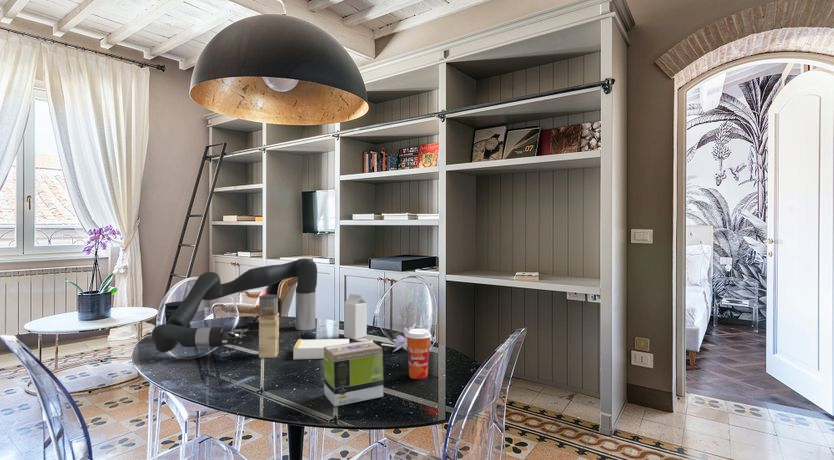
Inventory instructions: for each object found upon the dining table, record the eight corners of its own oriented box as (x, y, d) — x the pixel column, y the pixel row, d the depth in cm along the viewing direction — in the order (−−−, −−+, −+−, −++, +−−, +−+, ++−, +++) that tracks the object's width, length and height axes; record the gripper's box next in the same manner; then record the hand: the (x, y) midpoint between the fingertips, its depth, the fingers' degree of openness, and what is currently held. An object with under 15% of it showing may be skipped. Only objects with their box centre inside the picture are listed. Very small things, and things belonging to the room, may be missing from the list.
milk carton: (355, 340, 190) (355, 296, 190) (343, 337, 195) (344, 294, 194) (366, 336, 196) (366, 294, 196) (355, 334, 200) (355, 292, 200)
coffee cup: (403, 379, 143) (404, 333, 143) (407, 371, 151) (408, 327, 151) (429, 381, 142) (430, 334, 141) (432, 372, 150) (432, 328, 150)
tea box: (370, 386, 137) (370, 339, 137) (383, 398, 128) (384, 347, 128) (323, 395, 130) (323, 345, 130) (333, 407, 121) (333, 354, 121)
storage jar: (162, 337, 193) (162, 302, 193) (186, 333, 199) (186, 300, 199) (168, 341, 185) (167, 306, 185) (193, 337, 192) (193, 303, 192)
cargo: (264, 317, 169) (264, 307, 169) (275, 317, 170) (275, 307, 170) (262, 319, 165) (262, 309, 165) (273, 319, 166) (273, 309, 166)
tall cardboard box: (262, 353, 171) (262, 313, 170) (278, 352, 171) (278, 312, 171) (259, 357, 165) (259, 316, 164) (275, 357, 165) (275, 316, 165)
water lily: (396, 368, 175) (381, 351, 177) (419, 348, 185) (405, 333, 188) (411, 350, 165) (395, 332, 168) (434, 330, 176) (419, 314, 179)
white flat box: (298, 349, 175) (298, 339, 175) (349, 348, 177) (349, 338, 177) (293, 359, 163) (293, 347, 163) (348, 357, 165) (348, 346, 165)
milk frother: (275, 328, 209) (275, 297, 209) (241, 328, 209) (241, 297, 208) (283, 322, 223) (283, 292, 223) (251, 322, 223) (252, 292, 223)
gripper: (204, 331, 158) (251, 330, 160) (217, 322, 172) (260, 321, 174) (204, 352, 158) (251, 351, 160) (217, 341, 172) (260, 340, 174)
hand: (255, 335), depth 167 cm, fingers open, 8 cm apart
